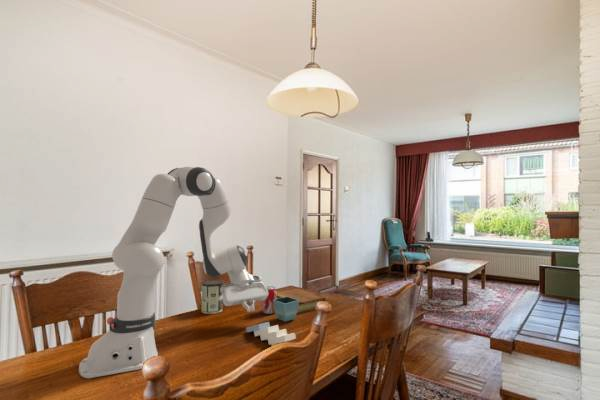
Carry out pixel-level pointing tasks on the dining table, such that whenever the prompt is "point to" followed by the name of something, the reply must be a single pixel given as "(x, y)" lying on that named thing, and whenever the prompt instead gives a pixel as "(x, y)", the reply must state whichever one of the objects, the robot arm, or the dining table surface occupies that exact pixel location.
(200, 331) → the dining table surface
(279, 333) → the tile
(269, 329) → the tile
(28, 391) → the dining table surface
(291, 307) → the flower pot
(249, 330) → the tile
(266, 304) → the soda can
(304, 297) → the diary
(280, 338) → the tile
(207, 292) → the coffee can
